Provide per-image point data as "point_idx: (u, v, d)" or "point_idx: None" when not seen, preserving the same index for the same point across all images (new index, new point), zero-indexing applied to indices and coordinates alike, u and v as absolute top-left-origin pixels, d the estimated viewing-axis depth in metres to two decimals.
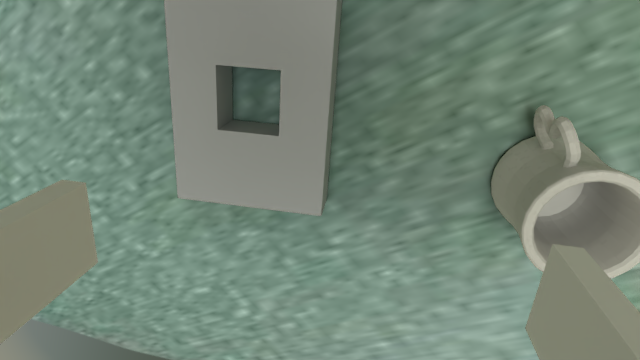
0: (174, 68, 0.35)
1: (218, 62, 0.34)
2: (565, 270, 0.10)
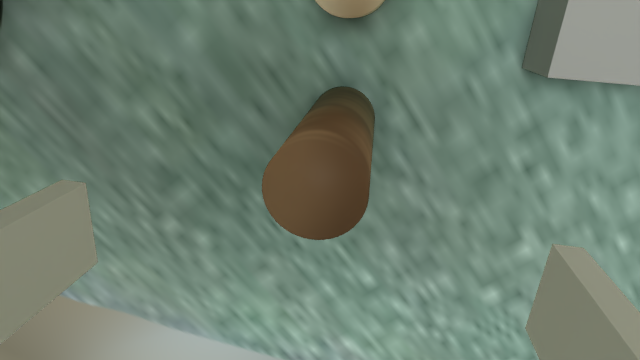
0: None
1: None
2: (565, 271, 0.10)
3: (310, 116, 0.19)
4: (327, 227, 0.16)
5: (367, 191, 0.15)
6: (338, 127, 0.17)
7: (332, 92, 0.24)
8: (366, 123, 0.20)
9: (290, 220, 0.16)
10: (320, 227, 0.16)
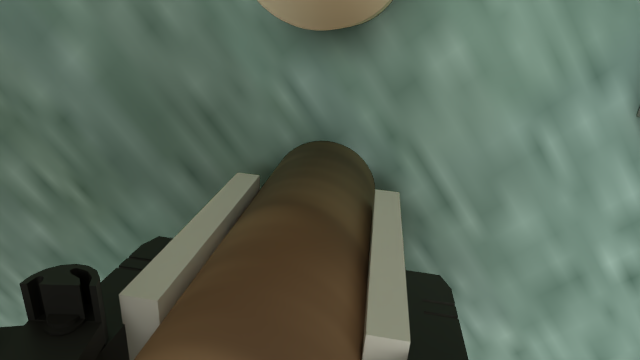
0: None
1: None
2: None
3: (232, 245, 0.09)
4: None
5: None
6: (276, 318, 0.06)
7: (301, 156, 0.14)
8: (357, 241, 0.10)
9: None
10: None
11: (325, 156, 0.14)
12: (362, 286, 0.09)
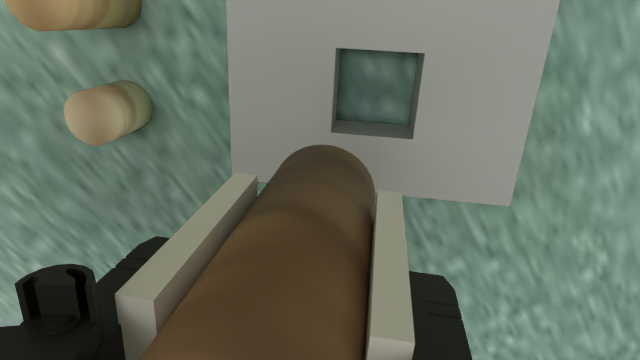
0: None
1: (327, 128, 0.28)
2: (376, 207, 0.12)
3: (232, 252, 0.09)
4: None
5: None
6: (276, 326, 0.06)
7: (301, 160, 0.14)
8: (356, 247, 0.10)
9: None
10: None
11: (325, 160, 0.14)
12: (362, 292, 0.09)
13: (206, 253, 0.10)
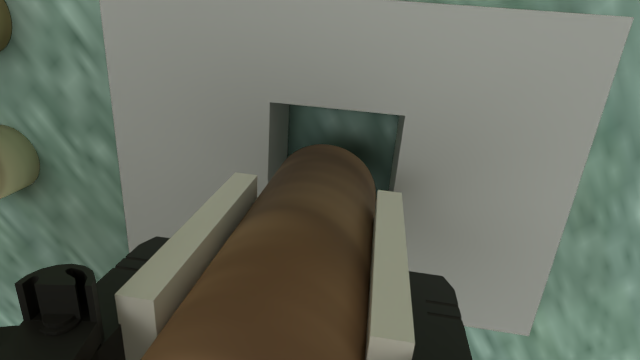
0: None
1: None
2: (376, 207, 0.12)
3: (233, 251, 0.09)
4: None
5: None
6: (277, 327, 0.06)
7: (302, 160, 0.14)
8: (358, 246, 0.10)
9: None
10: None
11: (326, 160, 0.14)
12: (363, 292, 0.09)
13: (206, 253, 0.10)
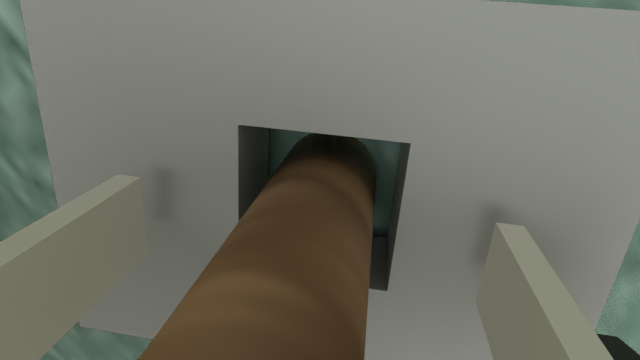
0: None
1: None
2: (503, 245, 0.11)
3: (259, 209, 0.11)
4: None
5: None
6: (301, 255, 0.08)
7: (311, 143, 0.16)
8: (361, 210, 0.12)
9: None
10: None
11: (332, 142, 0.16)
12: (366, 244, 0.11)
13: (36, 263, 0.09)
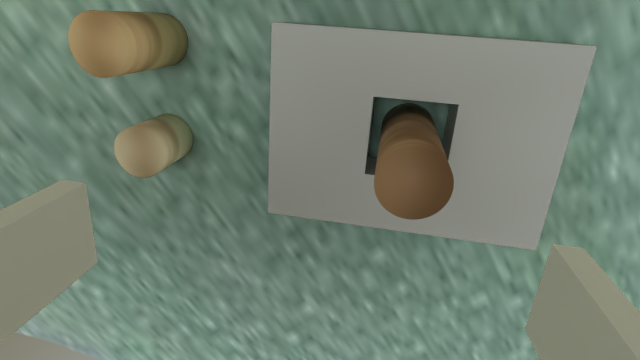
0: (367, 220, 0.31)
1: (362, 170, 0.30)
2: (565, 270, 0.10)
3: (397, 128, 0.25)
4: (420, 210, 0.22)
5: (452, 183, 0.21)
6: (425, 137, 0.22)
7: (402, 108, 0.30)
8: (437, 133, 0.26)
9: (393, 205, 0.22)
10: (415, 210, 0.22)
11: (414, 108, 0.30)
12: None
13: None
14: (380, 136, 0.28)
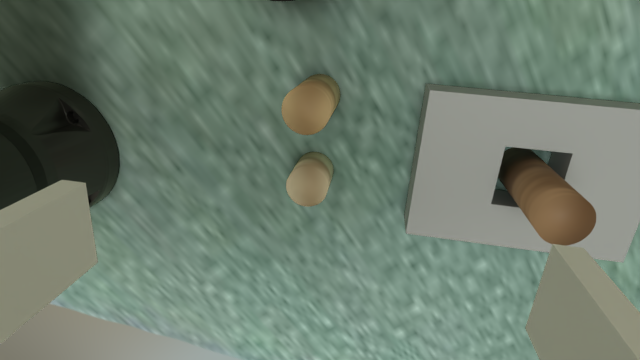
0: (488, 239, 0.39)
1: (489, 201, 0.38)
2: (565, 271, 0.10)
3: (536, 175, 0.33)
4: (568, 239, 0.30)
5: (595, 221, 0.29)
6: (567, 185, 0.31)
7: (520, 152, 0.38)
8: None
9: (548, 235, 0.30)
10: (564, 239, 0.30)
11: (529, 152, 0.38)
12: None
13: None
14: (508, 176, 0.37)
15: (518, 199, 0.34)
